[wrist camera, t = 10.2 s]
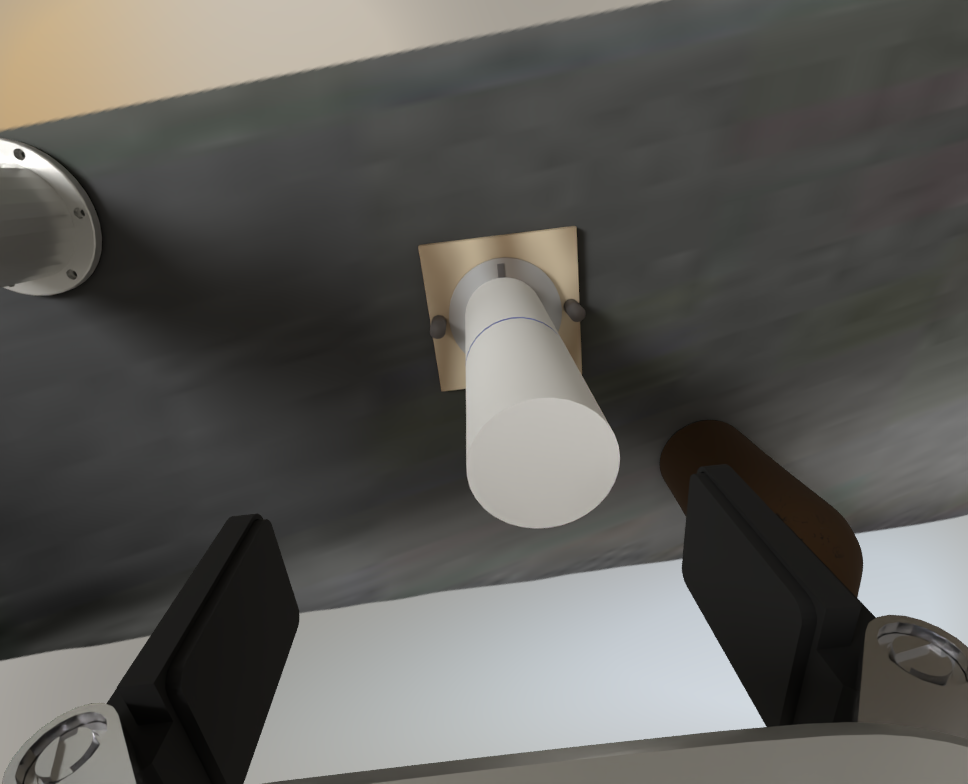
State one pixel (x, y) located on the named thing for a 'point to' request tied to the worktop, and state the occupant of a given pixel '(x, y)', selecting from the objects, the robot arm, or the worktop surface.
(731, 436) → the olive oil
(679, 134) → the worktop surface
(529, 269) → the locking base
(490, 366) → the cylindrical container
